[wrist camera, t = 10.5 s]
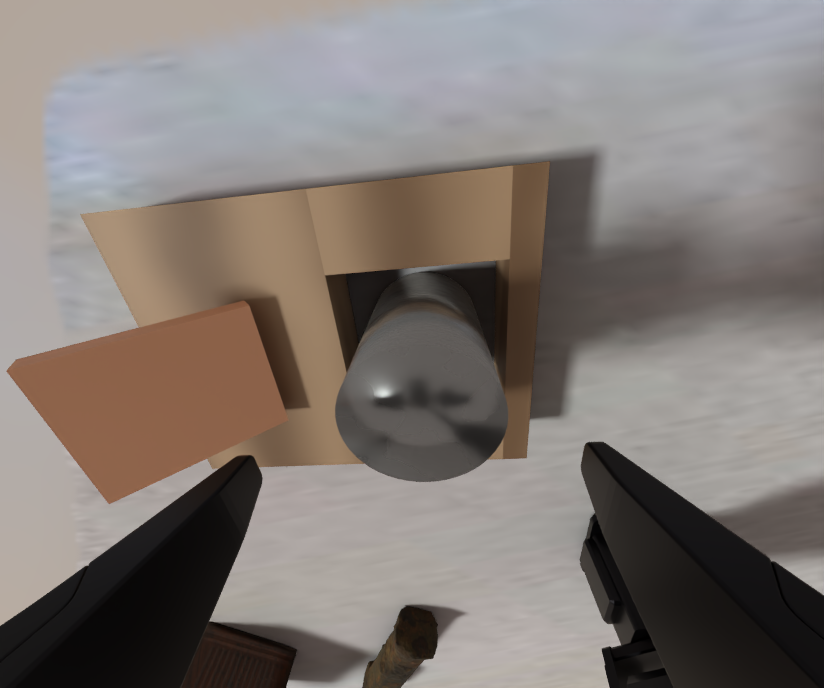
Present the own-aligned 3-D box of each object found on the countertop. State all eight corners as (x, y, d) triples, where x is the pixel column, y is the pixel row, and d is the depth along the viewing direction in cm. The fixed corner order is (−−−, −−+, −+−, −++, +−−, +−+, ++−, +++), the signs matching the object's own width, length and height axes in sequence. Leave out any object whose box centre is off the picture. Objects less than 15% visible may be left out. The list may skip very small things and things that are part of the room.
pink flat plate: (243, 300, 14) (249, 305, 13) (282, 410, 17) (288, 420, 16) (16, 359, 11) (6, 370, 10) (111, 487, 13) (108, 504, 12)
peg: (475, 267, 16) (512, 338, 9) (476, 363, 18) (505, 479, 11) (366, 276, 17) (317, 351, 9) (381, 369, 19) (351, 483, 12)
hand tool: (399, 598, 31) (394, 663, 27) (438, 609, 31) (439, 675, 27) (345, 673, 39) (335, 731, 35) (377, 680, 40) (370, 739, 35)
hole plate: (527, 164, 14) (549, 161, 11) (513, 421, 20) (526, 458, 17) (140, 208, 16) (80, 214, 13) (239, 432, 22) (212, 468, 19)
